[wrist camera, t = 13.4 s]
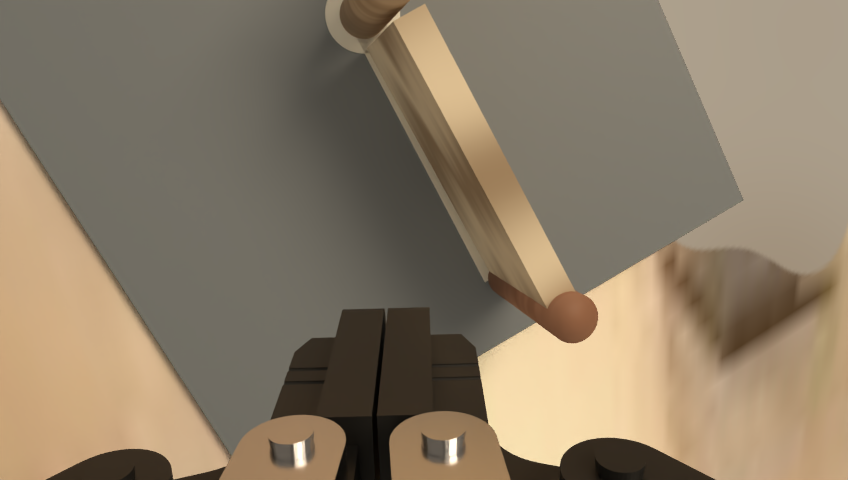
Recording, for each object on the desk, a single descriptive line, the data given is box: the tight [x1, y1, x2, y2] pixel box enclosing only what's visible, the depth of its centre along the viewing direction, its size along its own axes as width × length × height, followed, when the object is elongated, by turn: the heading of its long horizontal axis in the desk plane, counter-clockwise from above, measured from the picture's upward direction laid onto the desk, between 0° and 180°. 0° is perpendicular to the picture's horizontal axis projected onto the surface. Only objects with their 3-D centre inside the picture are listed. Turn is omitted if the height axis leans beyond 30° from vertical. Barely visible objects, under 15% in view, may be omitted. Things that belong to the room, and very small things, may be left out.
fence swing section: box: [367, 4, 598, 343], centre depth 29 cm, size 13×2×8 cm, turn 29°
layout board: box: [0, 0, 743, 456], centre depth 32 cm, size 26×27×1 cm
